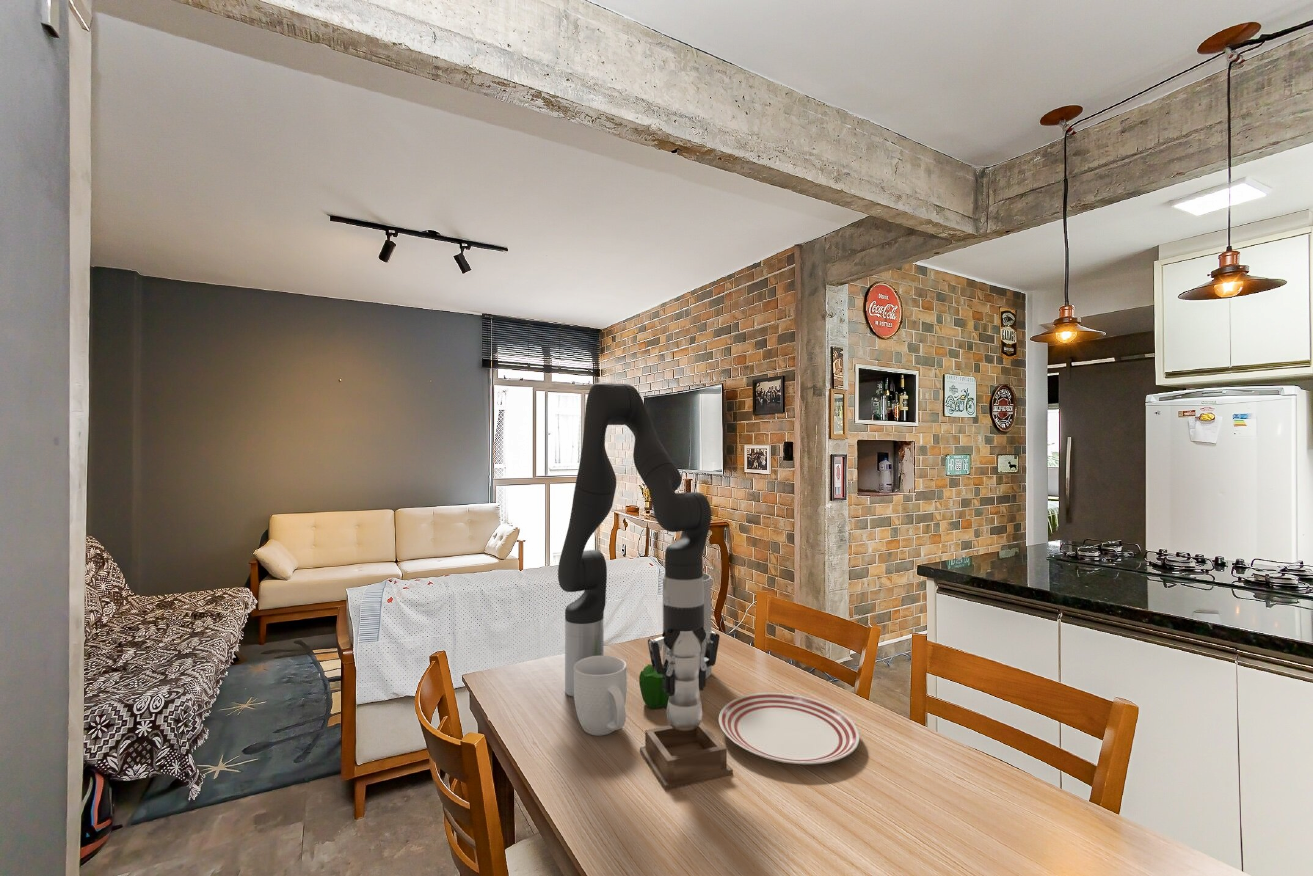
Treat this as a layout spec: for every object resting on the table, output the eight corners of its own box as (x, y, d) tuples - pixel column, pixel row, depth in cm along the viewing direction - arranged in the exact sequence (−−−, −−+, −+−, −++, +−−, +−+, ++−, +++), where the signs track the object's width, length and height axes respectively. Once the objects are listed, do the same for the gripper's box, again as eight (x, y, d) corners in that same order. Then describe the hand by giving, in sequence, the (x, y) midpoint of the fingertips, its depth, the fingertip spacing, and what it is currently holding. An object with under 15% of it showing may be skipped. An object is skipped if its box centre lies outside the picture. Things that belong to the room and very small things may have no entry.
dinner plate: (882, 736, 114) (881, 719, 114) (818, 798, 94) (818, 778, 94) (765, 695, 132) (765, 681, 133) (691, 740, 112) (691, 723, 112)
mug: (646, 740, 112) (646, 674, 112) (597, 756, 106) (597, 687, 106) (610, 710, 124) (610, 651, 125) (564, 724, 118) (564, 661, 119)
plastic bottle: (664, 719, 107) (663, 613, 107) (700, 717, 108) (699, 612, 108) (668, 736, 101) (667, 624, 101) (705, 734, 101) (704, 623, 101)
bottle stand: (639, 751, 108) (639, 729, 108) (701, 738, 112) (701, 717, 112) (665, 790, 96) (665, 764, 96) (732, 774, 100) (732, 749, 100)
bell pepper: (669, 715, 122) (669, 668, 123) (634, 709, 125) (634, 664, 125) (680, 698, 130) (680, 655, 131) (647, 693, 133) (647, 651, 133)
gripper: (709, 591, 111) (710, 678, 110) (640, 599, 105) (641, 689, 105) (727, 601, 104) (728, 694, 103) (655, 609, 98) (655, 707, 98)
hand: (684, 691), depth 104 cm, fingers closed on plastic bottle, 5 cm apart
